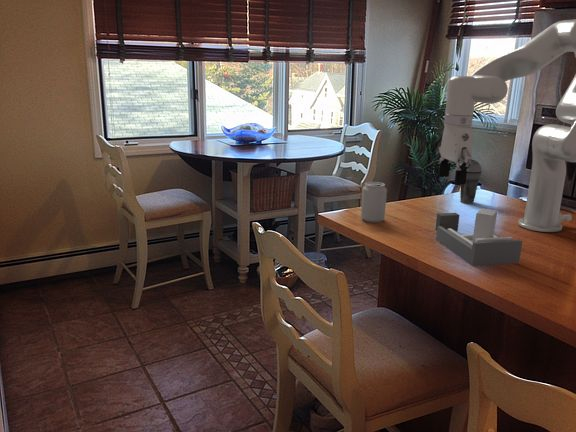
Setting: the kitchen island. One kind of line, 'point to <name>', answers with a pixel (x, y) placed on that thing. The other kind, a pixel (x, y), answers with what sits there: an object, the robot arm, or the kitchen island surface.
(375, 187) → the can
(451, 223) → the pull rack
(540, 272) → the kitchen island surface
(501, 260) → the tray
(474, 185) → the beverage cup
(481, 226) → the skincare box
